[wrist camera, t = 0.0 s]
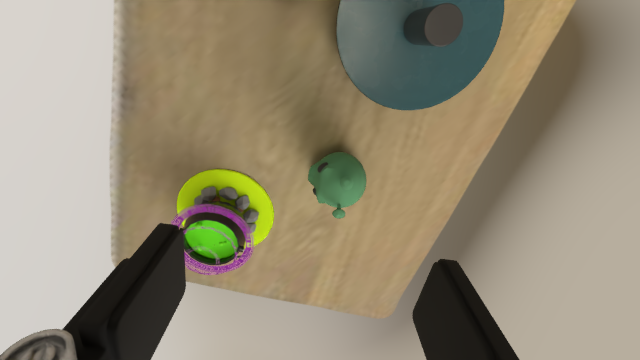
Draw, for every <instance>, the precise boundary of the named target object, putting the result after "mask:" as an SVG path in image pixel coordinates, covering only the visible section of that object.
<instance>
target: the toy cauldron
mask: <svg viewBox="0 0 640 360" xmlns="http://www.w3.org/2000/svg"><path fill="white" fill-rule="evenodd" d="M177 212H178V214H177V215H178V216H179V217H178V216H177V215H176V216H177V217H178V218H177V217H176V216H175V217H176V218H177V219H176V218H175V217H174V218H175V219H176V221H175V220H174V219H173V220H174V221H175V222H176V224H175V225H178V227H179V226H180V224H181V223H182V225H183V226H184V227H183V228H180V227H179V228H180V230H183V233H184V249H185V251H186V252H187V253H188V254H189V255H190V256H191V257H192V258H193V259H195V260H197V261H199V262H201V263H204V264H208V265H221V264H225V263H228V262H229V261H231V260H233V259H234V258H236V260H237V258H239V259H238V260H237V261H236V260H235V259H234V262H233V263H232V264H231V263H230V264H229V265H226V266H218V267H215V266H208V267H207V270H206V271H208V272H210V268H209V267H211V270H212V269H213V272H218V273H220V274H221V273H222V272H223V271H221V269H223V268H224V269H223V270H226V271H225V272H228V269H230V270H231V271H232V269H231V268H233V269H234V270H235V268H234V267H236V266H238V265H239V266H240V267H241V265H242V264H243V263H244V261H245V260H244V259H246V258H247V257H248V256H250V254H251V253H250V250H251V247H252V248H253V249H255V248H254V246H255V245H257V244H258V243H260V242H261V241H262V240H263V239H264V238H265V237H266V236H267V235H268V233H269V231H270V229H271V227H272V224H273V220H274V210H273V205H272V202H271V200H270V198H269V196H268V194H267V193H266V191H265V190H264V189H263V188H262V187H261V186H260V185H259V184H258V183H257V182H256V181H254V180H253V179H251V178H250V177H248V176H246V175H244V174H242V173H239V172H236V171H232V170H226V169H213V170H207V171H204V172H201V173H198V174H196V175H195V176H193V177H191V178H190V179H189V180H188V181H187V182H186V183H185V184H184V185H183V187H182V188H181V190H180V192H179V195H178V198H177ZM179 219H180V220H179ZM173 220H172V221H173ZM177 220H179V221H180V223H179V221H178V223H179V224H177ZM174 221H173V223H174ZM173 223H172V222H171V224H172V225H173ZM243 251H244V253H243V255H242V256H236V255H237V254H238V253H239V252H243ZM251 252H253V251H252V250H251ZM246 253H247V254H246ZM244 254H246V255H244ZM185 255H186V256H187V258H188V259H187V258H186V256H185ZM251 255H252V254H251ZM184 256H185V262H187V261H188V262H187V263H188V264H189V265H190V263H192V264H193V267H194V265H195V268H196V266H197V265H198V264H199V265H198V266H197V268H198V267H200V270H201V266H202V268H203V267H205V268H203V269H202V270H204V273H203V272H202V273H200V272H199V270H198V271H197V273H198V272H199V273H200V274H204V275H210V274H211V273H212V272H211V273H208V272H207V273H205V269H206V266H207V265H204V264H201V263H199V262H197V261H195V260H193V259H192V258H190V257H189V256H188V255H187V254H186V253H185V252H184ZM243 257H244V258H243ZM245 257H246V258H245ZM250 257H251V256H250ZM250 257H248V258H250ZM189 258H190V260H191V259H192V260H191V261H190V263H189ZM240 258H241V259H240ZM248 258H247V259H248ZM186 259H187V260H186ZM242 259H243V260H244V261H243V260H242ZM247 259H246V262H247V261H248V260H247ZM193 261H194V262H193ZM195 262H197V263H195ZM239 262H240V263H242V262H243V263H242V264H241V265H240V263H239ZM246 262H245V263H246ZM194 263H195V264H194ZM234 263H237V265H236V264H234ZM245 263H244V264H245ZM185 264H186V263H185ZM192 264H191V266H192ZM196 264H197V265H196ZM200 264H201V265H200ZM233 264H234V265H233ZM231 265H232V267H230V266H231ZM186 266H187V265H186ZM239 266H238V267H236V269H237V268H239ZM193 267H191V268H193ZM220 267H221V268H220ZM187 268H188V269H190V268H189V266H187ZM218 268H219V270H218ZM225 268H226V269H225ZM198 269H199V268H198ZM190 270H192V269H190ZM230 270H229V271H230ZM192 271H193V270H192ZM195 271H196V269H195V270H194V272H195ZM218 273H217V274H218ZM223 273H224V272H223ZM217 274H215V273H212V275H217Z"/></svg>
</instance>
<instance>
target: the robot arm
mask: <svg viewBox="0 0 640 360" xmlns="http://www.w3.org/2000/svg"><path fill="white" fill-rule="evenodd" d="M185 287H186V280H185V256H184V233H183V230H179V227H178V226H177V225H171V224H163V223H160V224H159V225H158V226H157V227H156V228H155V229H154V230H153V232H152V233H151V234H150V235H149V236H148V238H147V239H146V240H145V241H144V242H143V244H142V245H141V246H140V247H139V248H138V250H137V251H136V252H135V253H134V254H133V256H132V257H131V258H130V259H128V258H126V259H124V260H123V261H121V262H120V263H119V265H118V266H117V267H116V268H115V269H114V270H113V271H112V273H111V274H110V275H109V276H108V277H107V278H106V280H105V281H104V282H103V283H102V284H101V285H100V287H99V288H98V289H97V290H96V291H95V292H94V294H93V295H92V296H91V297H90V298H89V299H88V301H87V302H86V303H85V304H84V305H83V306H82V307H81V309H80V310H79V311H78V312H77V313H76V315H75V316H74V317H73V318H72V319H71V320H70V321H69V323H68V324H67V325H66V326H65V327H64V328H63V330H60V329H50V330H44V331H40V332H37V333H34V334H31V335H29V336H27V337H25V338H23V339H21V340H19V341H18V342H16V343H15V344H13V345H12V346H10V347H9V348H8V349H7V350H6V351H5V352H4V353H3V354H1V355H0V360H151V358H152V356H153V354H154V352H155V350H156V348H157V346H158V344H159V342H160V340H161V338H162V336H163V334H164V332H165V330H166V328H167V326H168V325H169V322H170V320H171V319H172V317H173V315H174V313H175V311H176V309H177V307H178V305H179V303H180V301H181V299H182V297H183V295H184V292H185ZM413 321H414V324H415V327H416V330H417V333H418V336H419V339H420V342H421V344H422V348H423V350H424V353H425V356H426V359H427V360H519V358H518V357H517V355H516V354H515V352H514V350H513V349H512V347H511V346H510V344H509V343H508V341H507V339H506V338H505V336H504V335H503V333H502V331H501V330H500V328H499V327H498V325H497V324H496V322H495V320H494V319H493V317H492V316H491V314H490V313H489V311H488V309H487V308H486V306H485V305H484V303H483V301H482V300H481V298H480V297H479V295H478V293H477V292H476V290H475V289H474V287H473V286H472V284H471V282H470V281H469V279H468V278H467V276H466V274H465V273H464V271H463V270H462V268H461V267H460V265H459V263H458V262H457V261H454V260H445V259H440V260H439V261H438V262H435V263H434V264H433V266H432V269H431V271H430V273H429V275H428V278H427V280H426V282H425V284H424V287H423V289H422V291H421V294H420V296H419V299H418V301H417V303H416V305H415V308H414V310H413Z"/></svg>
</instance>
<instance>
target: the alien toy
mask: <svg viewBox="0 0 640 360" xmlns="http://www.w3.org/2000/svg"><path fill="white" fill-rule="evenodd" d="M308 181H309V182H310V183H311V184H312V185H313V186H314V189H313V192H314V194H315V195H316V196H317V199H318V202H319V203H326V204H328V205H330V206H333V207H336V208H337V209H336V210H334V211H333V213H332V214H333V216H334V217H335V218H343V217H344V216H345V212H344V211H343V210H341V208H343V207H348V206H350V205H353V204H354V203H356V202H357V201H358V200H359V199H360V198H361V196H362V195H363V193H364V190H365V187H366V174H365V171H364V168H363V166H362V164H361V163H360V162H359V161H358V160H357V159H356V158H355V157H353V156H352V155H350V154H347V153H344V152H335V153H331V154H329V155H327V156H325V157H324V158H323V159H321V160H320V161H319V162H317V163H316V164H314V165H312V166H311V168H310V170H309V175H308Z"/></svg>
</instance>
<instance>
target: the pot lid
mask: <svg viewBox="0 0 640 360" xmlns="http://www.w3.org/2000/svg"><path fill="white" fill-rule="evenodd" d="M503 14H504V0H340V4H339V7H338V14H337V22H336V37H337V46H338V51H339V55H340V58H341V61H342V64H343V66H344V68H345V71H346V73H347V75H348V76H349V78H350V79H351V81H352V82H353V83H354V85H355V86H356V87H357V88H358V89H359V90H360V91H361V92H362V93H363V94H364V95H365V96H367V97H368V98H370V99H371V100H373V101H374V102H376V103H378V104H380V105H383V106H385V107H389V108H392V109H398V110H418V109H424V108H428V107H432V106H434V105H437V104H440V103H442V102H444V101H446V100H448V99H450V98H451V97H453V96H454V95H456V94H457V93H459V92H460V91H461V90H462V89H464V88H465V87H466V86H467V85H468V84H469V83H470V82H471V81H472V80H473V79H474V78H475V77H476V76H477V75H478V73H479V72H480V71H481V70H482V68H483V67H484V65H485V64H486V62H487V61H488V59H489V57H490V55H491V53H492V51H493V49H494V47H495V45H496V42H497V39H498V37H499V34H500V30H501V26H502V21H503Z"/></svg>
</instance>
